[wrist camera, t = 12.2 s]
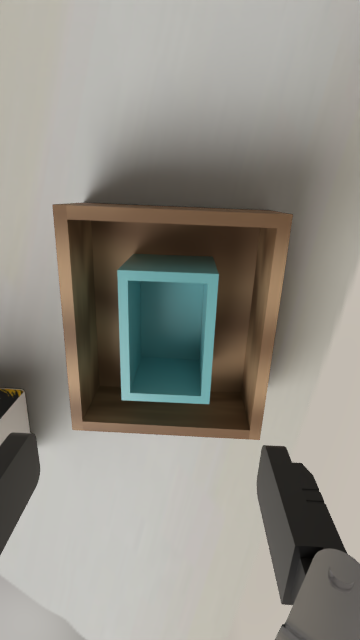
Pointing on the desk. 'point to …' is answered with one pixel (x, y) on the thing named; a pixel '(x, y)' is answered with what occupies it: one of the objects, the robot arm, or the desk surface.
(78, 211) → the walnut crate
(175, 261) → the small teal crate
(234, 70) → the desk surface
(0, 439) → the medicine bottle
